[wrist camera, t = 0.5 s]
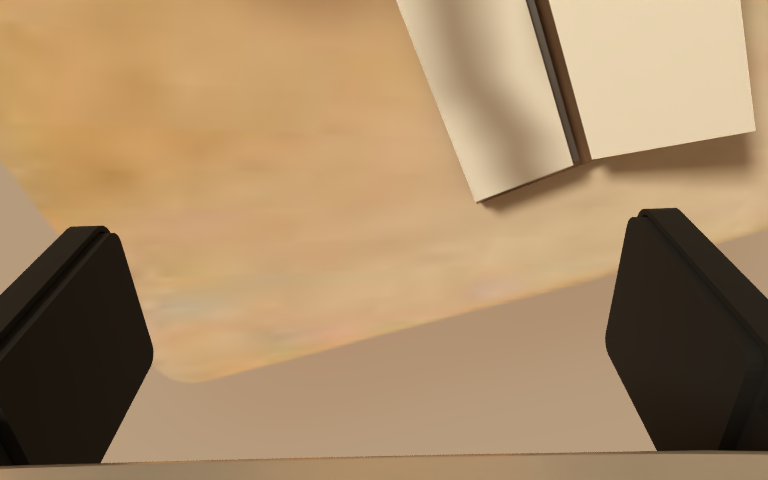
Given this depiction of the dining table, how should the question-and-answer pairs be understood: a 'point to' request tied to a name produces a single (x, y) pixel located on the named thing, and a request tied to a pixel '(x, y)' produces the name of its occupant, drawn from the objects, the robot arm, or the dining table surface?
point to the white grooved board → (499, 89)
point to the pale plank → (655, 71)
